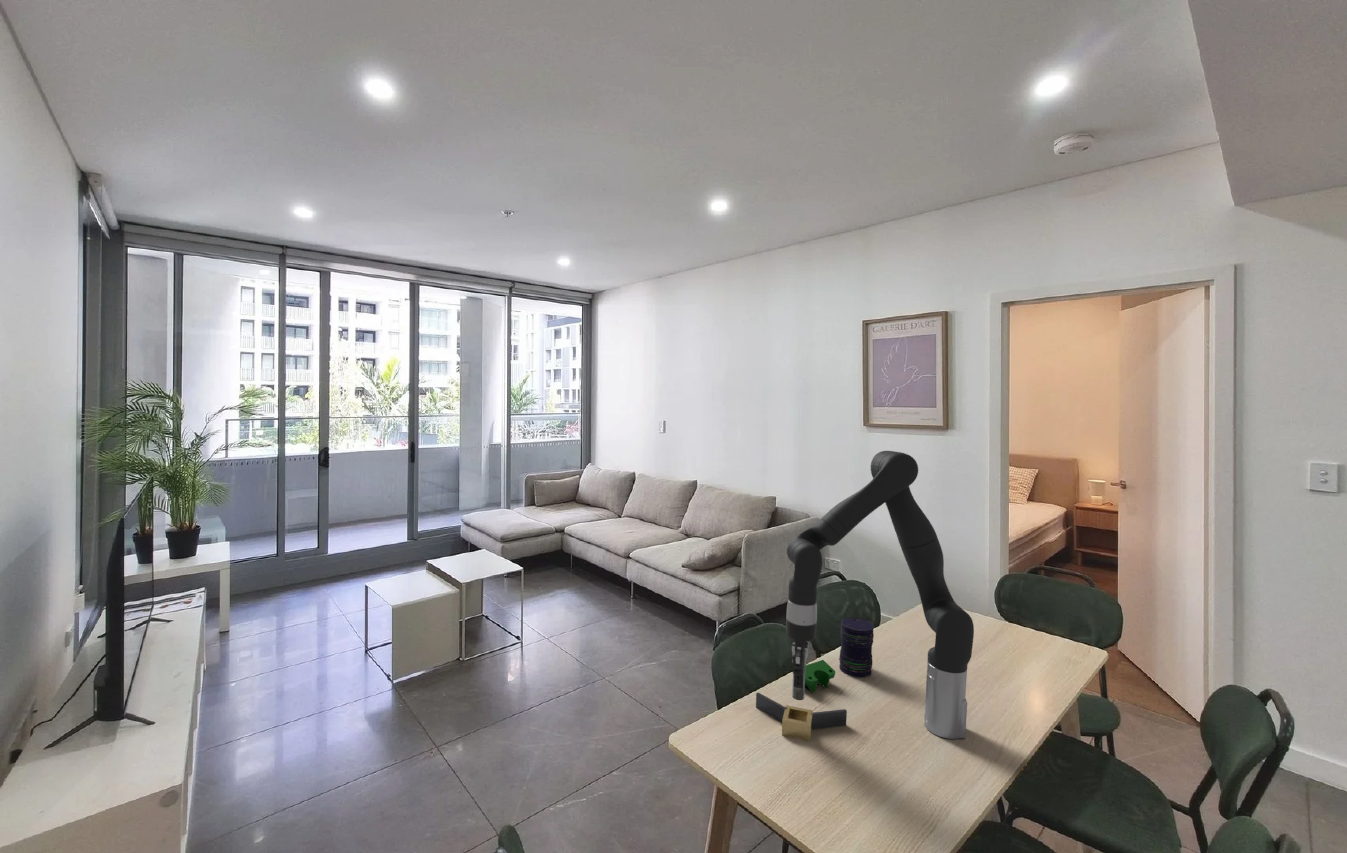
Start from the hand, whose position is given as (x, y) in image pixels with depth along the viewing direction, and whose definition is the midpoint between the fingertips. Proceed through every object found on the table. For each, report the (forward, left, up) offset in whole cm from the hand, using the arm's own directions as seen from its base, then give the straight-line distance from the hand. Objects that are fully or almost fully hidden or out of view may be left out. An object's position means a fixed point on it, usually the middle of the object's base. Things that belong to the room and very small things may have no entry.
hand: (798, 683), depth 141 cm
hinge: (0, -2, -12) cm, 13 cm away
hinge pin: (0, 0, -4) cm, 4 cm away
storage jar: (-14, -38, -13) cm, 42 cm away
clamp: (-3, -23, -13) cm, 27 cm away
